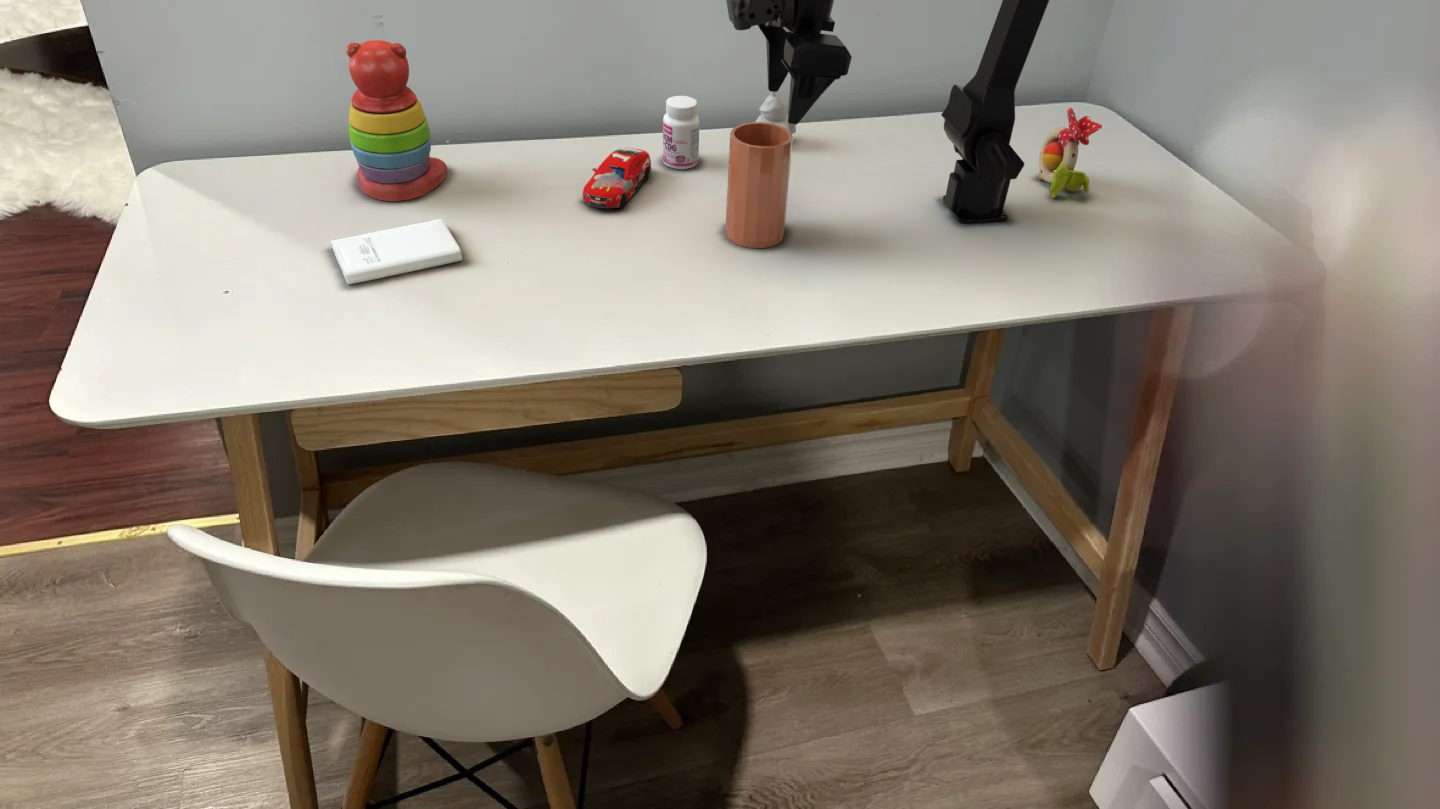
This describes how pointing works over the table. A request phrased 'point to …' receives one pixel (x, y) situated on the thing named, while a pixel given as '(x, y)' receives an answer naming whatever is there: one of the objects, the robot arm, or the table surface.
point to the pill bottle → (681, 133)
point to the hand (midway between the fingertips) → (782, 106)
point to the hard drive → (396, 251)
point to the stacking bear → (389, 125)
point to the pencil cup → (758, 184)
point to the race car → (617, 178)
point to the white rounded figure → (775, 113)
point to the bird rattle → (1065, 154)
